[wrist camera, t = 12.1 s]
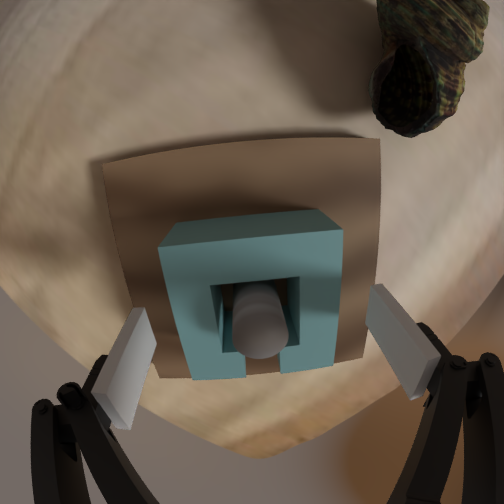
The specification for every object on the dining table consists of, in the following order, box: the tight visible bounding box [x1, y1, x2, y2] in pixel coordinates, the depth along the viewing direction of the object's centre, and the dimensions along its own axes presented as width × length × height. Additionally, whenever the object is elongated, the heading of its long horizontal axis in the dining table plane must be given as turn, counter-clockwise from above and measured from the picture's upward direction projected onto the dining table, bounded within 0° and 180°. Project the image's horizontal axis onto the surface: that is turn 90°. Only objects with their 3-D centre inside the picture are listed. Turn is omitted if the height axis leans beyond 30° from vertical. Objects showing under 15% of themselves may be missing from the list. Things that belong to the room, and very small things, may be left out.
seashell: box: [368, 0, 489, 138], centre depth 12 cm, size 11×11×10 cm
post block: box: [102, 137, 381, 378], centre depth 19 cm, size 20×20×9 cm
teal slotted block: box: [158, 209, 343, 380], centre depth 19 cm, size 10×10×5 cm
